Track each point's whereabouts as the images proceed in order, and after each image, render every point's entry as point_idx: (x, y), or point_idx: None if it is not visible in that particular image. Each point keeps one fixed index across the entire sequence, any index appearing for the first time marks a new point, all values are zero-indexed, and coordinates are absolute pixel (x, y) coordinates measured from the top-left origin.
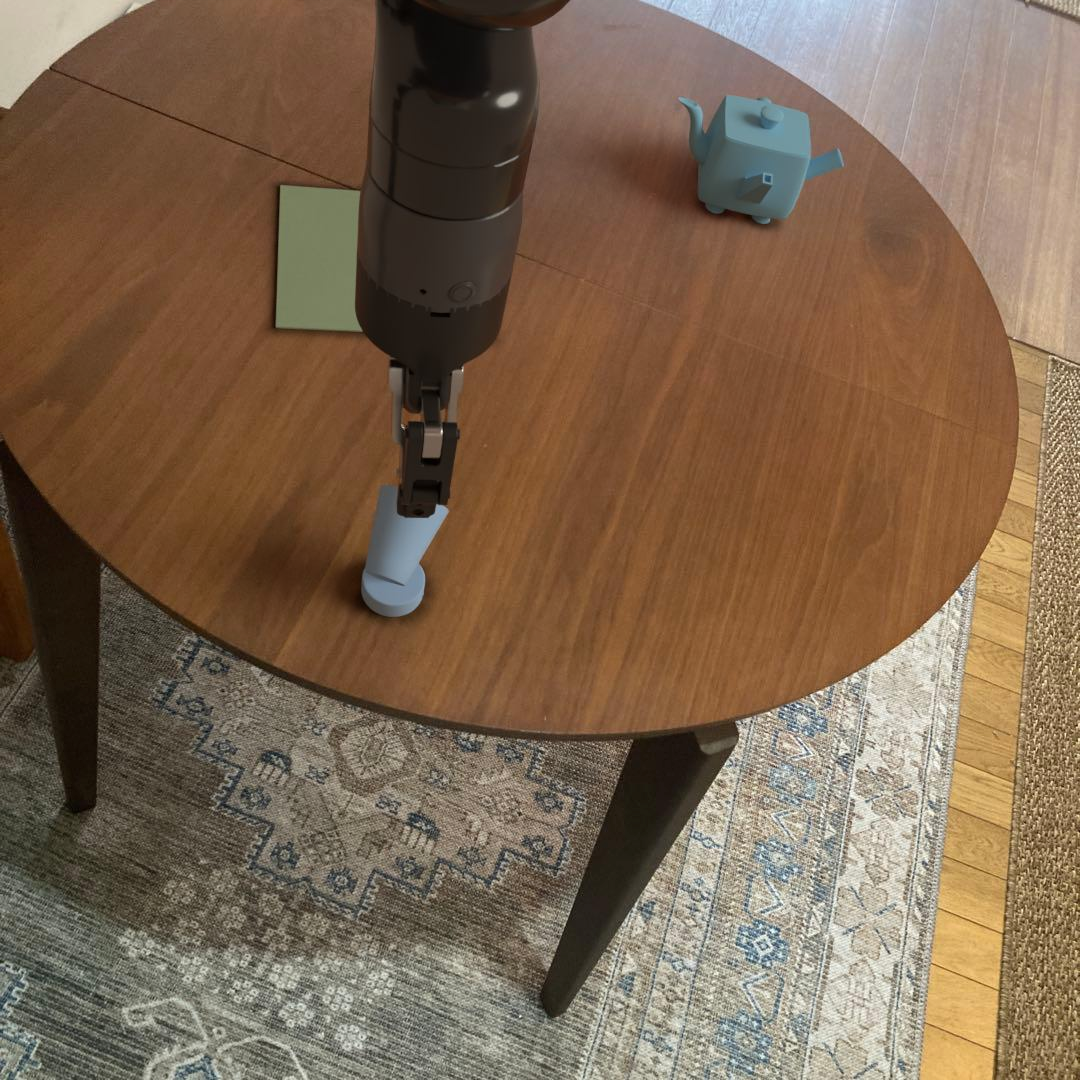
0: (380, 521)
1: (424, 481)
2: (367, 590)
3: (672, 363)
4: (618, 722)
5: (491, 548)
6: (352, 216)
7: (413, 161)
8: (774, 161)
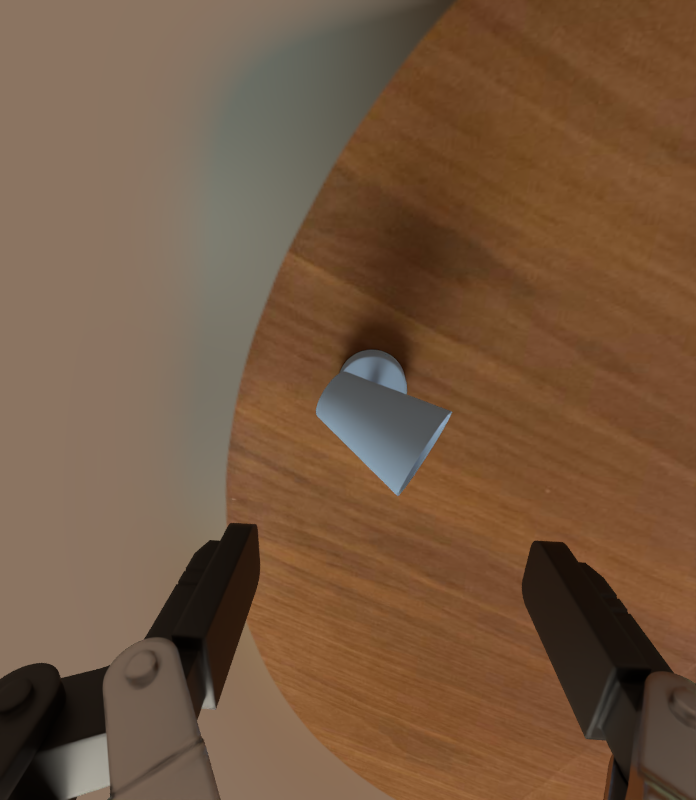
0: (386, 410)
1: (32, 784)
2: (357, 360)
3: None
4: None
5: (414, 480)
6: None
7: None
8: None
